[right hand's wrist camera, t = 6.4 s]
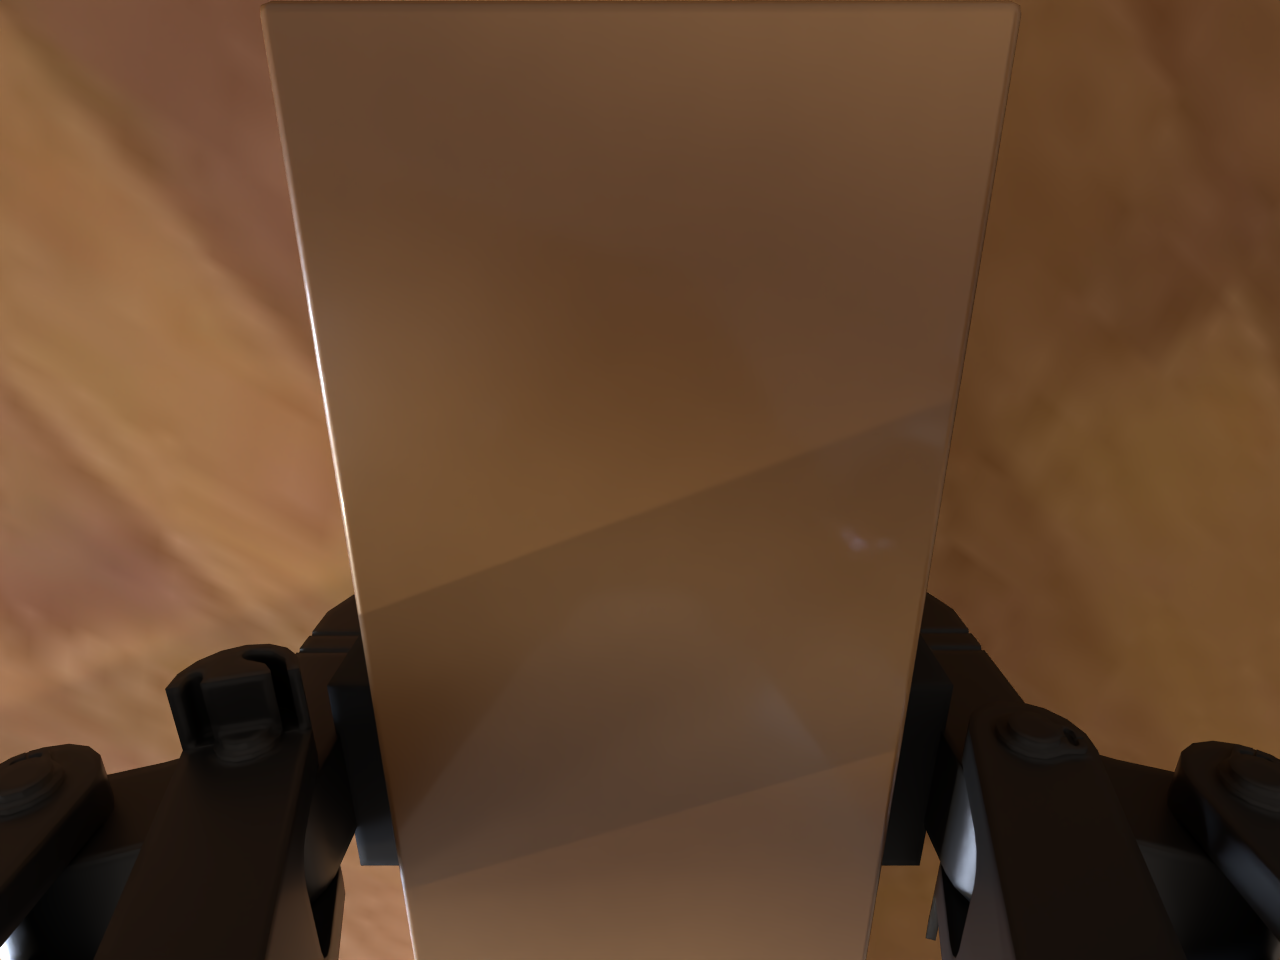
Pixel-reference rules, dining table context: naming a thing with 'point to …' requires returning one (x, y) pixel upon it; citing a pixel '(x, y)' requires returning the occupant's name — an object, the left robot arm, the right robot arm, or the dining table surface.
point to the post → (640, 439)
